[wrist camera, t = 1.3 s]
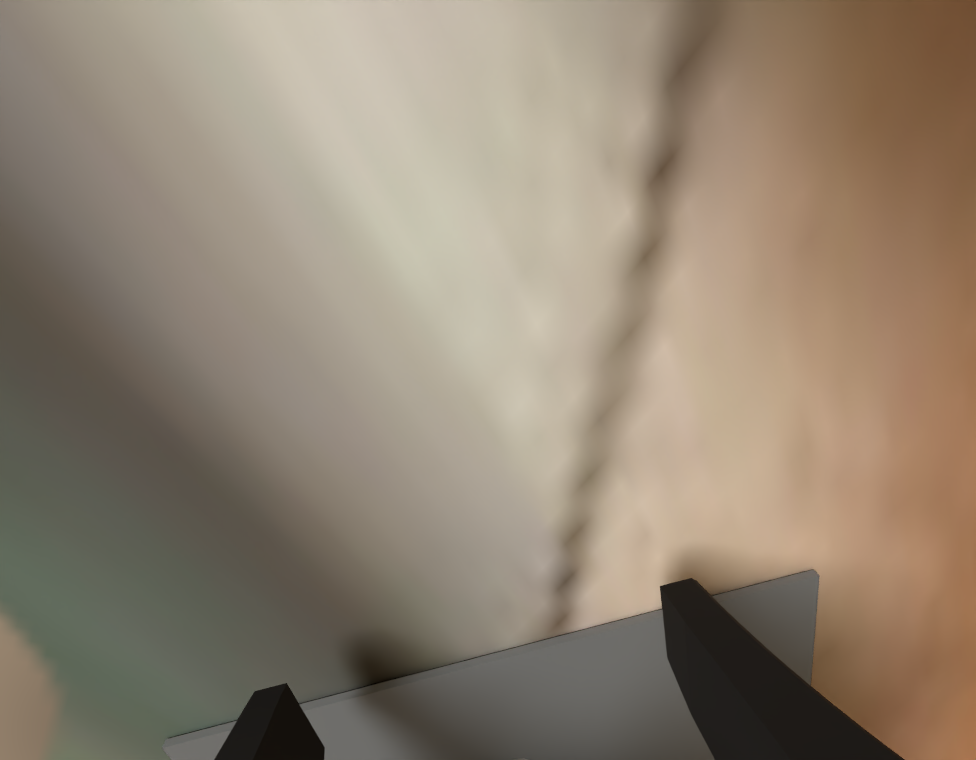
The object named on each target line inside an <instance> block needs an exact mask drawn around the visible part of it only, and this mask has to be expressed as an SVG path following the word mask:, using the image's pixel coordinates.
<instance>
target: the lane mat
mask: <svg viewBox="0 0 976 760" xmlns="http://www.w3.org/2000/svg"><path fill="white" fill-rule="evenodd" d="M818 587H819V575H818V574H817V572H816V571H815V570H814V569H813V570H810V571H806V572H802V573H798V574H794V575H791V576H787V577H783V578H779V579H775V580H772V581H768V582H764V583H760V584H756V585H752V586H749V587H745V588H741V589H737V590H733V591H730V592H726V593H722V594H718V595H714V596H712V597H713V598H714V599H715V600H716V601H717V602H718V603H719V604H720V605H721V606H722V607H723V608H724V609H725V610H726V611H727V612H728V613H729V614H731V615H732V616H733V617H734V618H735V619H736V620H737V621H738V622H739V623H740V624H741V625H742V626H743V627H744V628H745V629H747V630H748V631H749V632H750V633H751V634H752V635H753V636H754V637H755V638H756V639H757V640H758V641H760V642H761V643H762V644H763V645H764V646H765V647H766V648H767V649H768V650H770V651H771V652H772V653H773V654H774V655H775V656H776V657H778V658H779V659H780V660H781V661H782V662H783V663H785V664H786V665H787V666H788V667H789V668H790V669H792V670H793V671H794V672H795V673H796V674H797V675H798V676H800V677H801V678H802V679H803V680H804V681H805V682H807V683H808V684H809V685H810V686H811V676H812V663H813V650H814V638H815V625H816V612H817V600H818ZM299 705H300V706H301V708H302V710H303V712H304V713H305V715H306V717H307V718H308V720H309V722H310V723H311V725H312V727H313V728H314V730H315V732H316V733H317V735H318V737H319V739H320V740H321V742H322V744H323V745H324V747H325V754H324V760H513V759H520V758H524V759H528V760H715V759H714V757H713V755H712V753H711V751H710V750H709V748H708V746H707V744H706V742H705V740H704V738H703V736H702V734H701V733H700V731H699V729H698V727H697V725H696V723H695V721H694V719H693V717H692V715H691V713H690V711H689V708H688V706H687V704H686V701H685V699H684V697H683V694H682V692H681V690H680V687H679V685H678V683H677V680H676V678H675V675H674V673H673V671H672V668H671V666H670V663H669V661H668V658H667V651H666V641H665V631H664V621H663V611H662V609H661V610H657V611H653V612H649V613H646V614H642V615H638V616H634V617H630V618H627V619H623V620H619V621H615V622H611V623H608V624H604V625H600V626H596V627H592V628H588V629H585V630H581V631H577V632H573V633H569V634H566V635H562V636H558V637H554V638H550V639H546V640H543V641H539V642H535V643H531V644H527V645H524V646H520V647H516V648H512V649H508V650H505V651H501V652H497V653H493V654H489V655H485V656H482V657H478V658H474V659H470V660H466V661H463V662H459V663H455V664H451V665H447V666H444V667H440V668H436V669H432V670H428V671H424V672H421V673H417V674H413V675H409V676H405V677H402V678H398V679H394V680H390V681H386V682H382V683H379V684H375V685H371V686H367V687H363V688H360V689H356V690H352V691H348V692H344V693H341V694H337V695H333V696H329V697H325V698H321V699H318V700H314V701H310V702H306V703H302V704H299ZM236 722H237V721H234V722H230V723H226V724H222V725H218V726H215V727H211V728H207V729H203V730H199V731H196V732H192V733H188V734H184V735H180V736H177V737H173V738H169V739H166V740H165V742H164V745H163V747H162V749H163V750H164V751H165V753H166V754H167V755H168V756H169V757H170V759H171V760H214V759H215V757H216V756H217V754H218V752H219V750H220V749H221V747H222V745H223V744H224V742H225V740H226V739H227V737H228V735H229V733H230V732H231V730H232V728H233V727H234V725H235V723H236Z"/></svg>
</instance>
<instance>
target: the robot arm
mask: <svg viewBox="0 0 976 760" xmlns="http://www.w3.org/2000/svg"><path fill="white" fill-rule="evenodd" d="M660 591H661V601H662V611H663V621H664V631H665V641H666V651H667V658H668V661H669V663H670V666H671V668H672V671H673V673H674V675H675V678H676V680H677V683H678V685H679V687H680V690H681V692H682V694H683V697H684V699H685V701H686V704H687V706H688V708H689V711H690V713H691V715H692V717H693V719H694V721H695V723H696V725H697V727H698V729H699V731H700V733H701V734H702V736H703V738H704V740H705V742H706V744H707V746H708V748H709V750H710V751H711V753H712V755H713V757H714V759H715V760H904V759H903V758H902V757H900V756H899V755H898V754H896V753H895V752H894V751H892V750H891V749H890V748H888V747H887V746H886V745H884V744H883V743H882V742H880V741H879V740H878V739H876V738H875V737H874V736H873V735H871V734H870V733H869V732H867V731H866V730H865V729H863V728H862V727H861V726H860V725H858V724H857V723H856V722H855V721H853V720H852V719H851V718H850V717H848V716H847V715H846V714H845V713H843V712H842V711H841V710H839V709H838V708H837V707H836V706H834V705H833V704H832V703H831V702H830V701H828V700H827V699H826V698H825V697H823V696H822V695H821V694H820V693H819V692H817V691H816V690H815V689H814V688H813V687H811V686H810V685H809V684H808V683H807V682H805V681H804V680H803V679H802V678H801V677H800V676H798V675H797V674H796V673H795V672H794V671H793V670H792V669H790V668H789V667H788V666H787V665H786V664H785V663H783V662H782V661H781V660H780V659H779V658H778V657H776V656H775V655H774V654H773V653H772V652H771V651H770V650H768V649H767V648H766V647H765V646H764V645H763V644H762V643H761V642H760V641H758V640H757V639H756V638H755V637H754V636H753V635H752V634H751V633H750V632H749V631H748V630H747V629H745V628H744V627H743V626H742V625H741V624H740V623H739V622H738V621H737V620H736V619H735V618H734V617H733V616H732V615H731V614H729V613H728V612H727V611H726V610H725V609H724V608H723V607H722V606H721V605H720V604H719V603H718V602H717V601H716V600H715V599H714V598H713V597H712V596H711V595H710V594H709V593H708V592H707V591H706V590H705V589H704V588H703V587H702V586H701V585H700V584H699V583H698V582H697V581H696V580H694V579H692V578H690V579H686V580H682V581H678V582H674V583H670V584H667V585H663V586H660ZM324 754H325V747H324V745H323V744H322V742H321V740H320V739H319V737H318V735H317V733H316V732H315V730H314V728H313V727H312V725H311V723H310V722H309V720H308V718H307V717H306V715H305V713H304V712H303V710H302V708H301V706H300V705H299V703H298V701H297V700H296V698H295V696H294V695H293V693H292V691H291V690H290V688H289V686H288V685H287V683H285V684H282V685H278V686H274V687H270V688H266V689H262V690H258V691H255V692H254V693H253V695H252V697H251V698H250V700H249V701H248V703H247V705H246V706H245V708H244V710H243V711H242V713H241V715H240V716H239V718H238V720H237V722H236V723H235V725H234V727H233V728H232V730H231V732H230V733H229V735H228V737H227V739H226V740H225V742H224V744H223V745H222V747H221V749H220V750H219V752H218V754H217V756H216V757H215V759H214V760H324Z"/></svg>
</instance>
